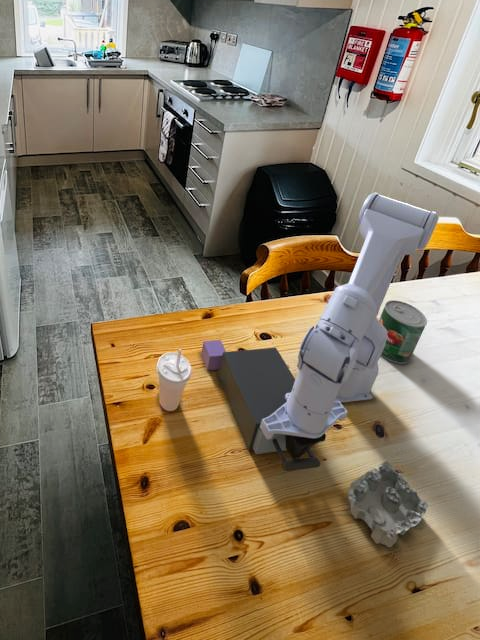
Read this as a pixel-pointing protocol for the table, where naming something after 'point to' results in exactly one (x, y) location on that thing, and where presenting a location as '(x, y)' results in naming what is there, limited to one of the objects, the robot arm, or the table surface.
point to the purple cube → (212, 354)
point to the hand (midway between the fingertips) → (292, 452)
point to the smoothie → (172, 379)
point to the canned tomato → (401, 330)
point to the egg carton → (385, 503)
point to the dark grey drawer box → (254, 387)
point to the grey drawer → (279, 445)
